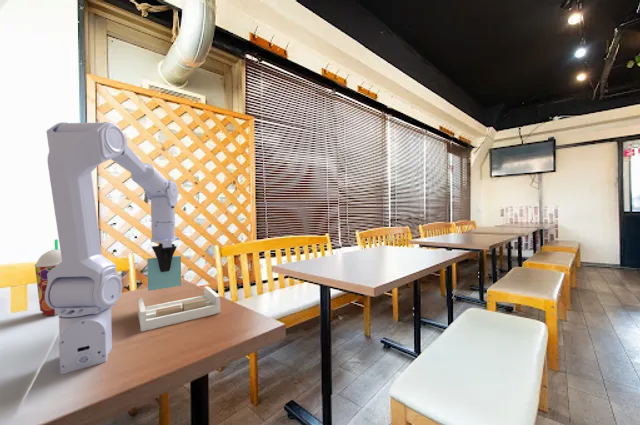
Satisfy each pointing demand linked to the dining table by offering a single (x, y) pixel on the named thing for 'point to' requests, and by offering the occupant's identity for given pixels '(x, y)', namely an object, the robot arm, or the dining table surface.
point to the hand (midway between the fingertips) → (164, 270)
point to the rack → (151, 321)
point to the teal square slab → (164, 274)
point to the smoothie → (42, 268)
